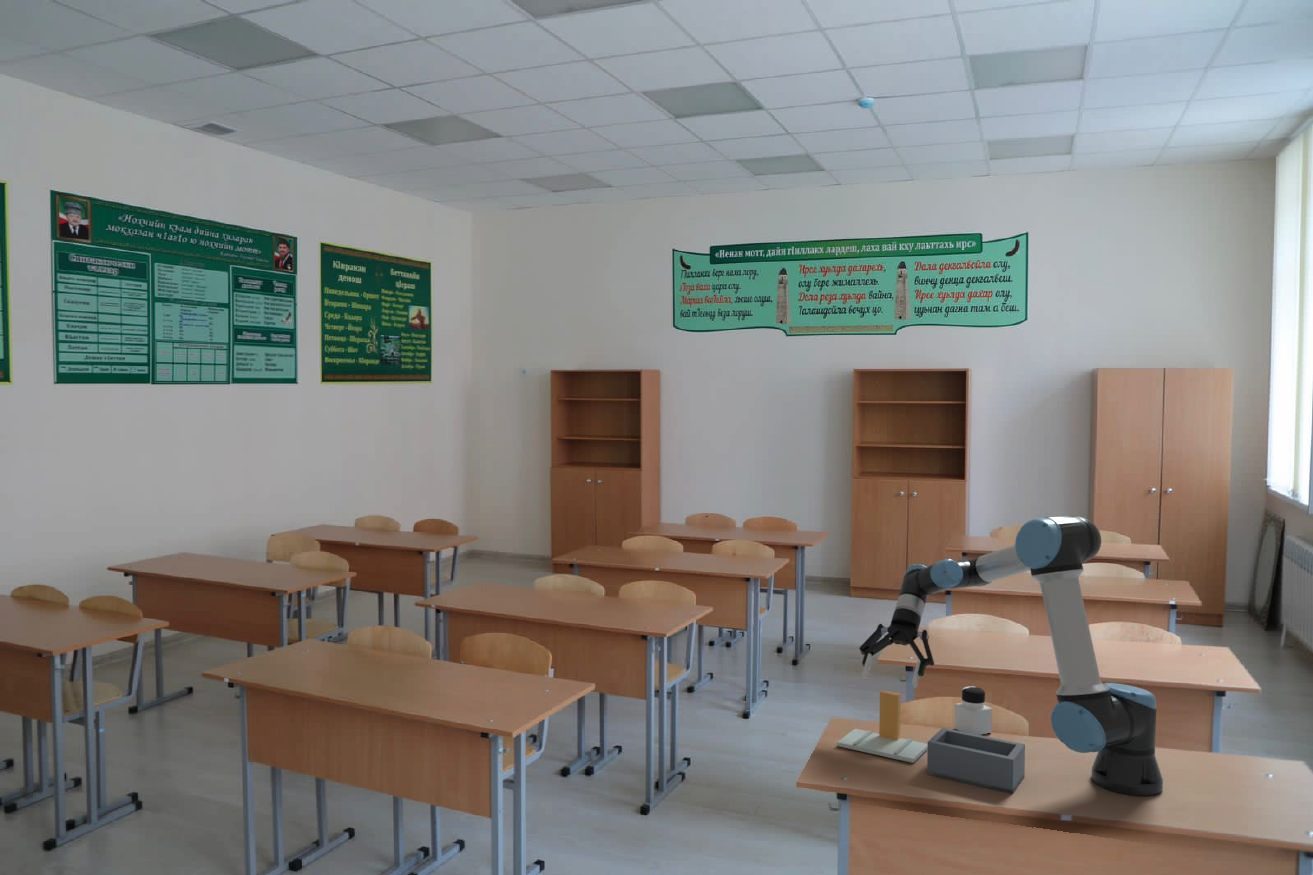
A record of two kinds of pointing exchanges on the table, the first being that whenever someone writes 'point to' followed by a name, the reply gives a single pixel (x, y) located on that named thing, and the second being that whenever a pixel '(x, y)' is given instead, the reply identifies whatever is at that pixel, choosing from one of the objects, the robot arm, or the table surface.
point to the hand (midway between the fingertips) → (888, 681)
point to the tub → (976, 760)
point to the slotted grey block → (885, 734)
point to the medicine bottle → (973, 712)
